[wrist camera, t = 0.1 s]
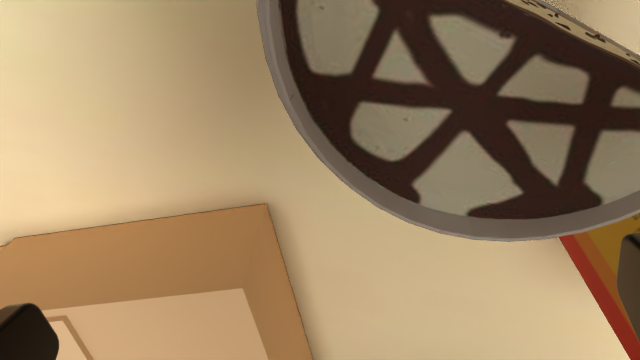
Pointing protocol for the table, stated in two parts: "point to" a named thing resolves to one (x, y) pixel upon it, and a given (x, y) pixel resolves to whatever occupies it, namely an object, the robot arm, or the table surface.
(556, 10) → the food container
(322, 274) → the table surface
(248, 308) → the carton
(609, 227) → the baking soda box
